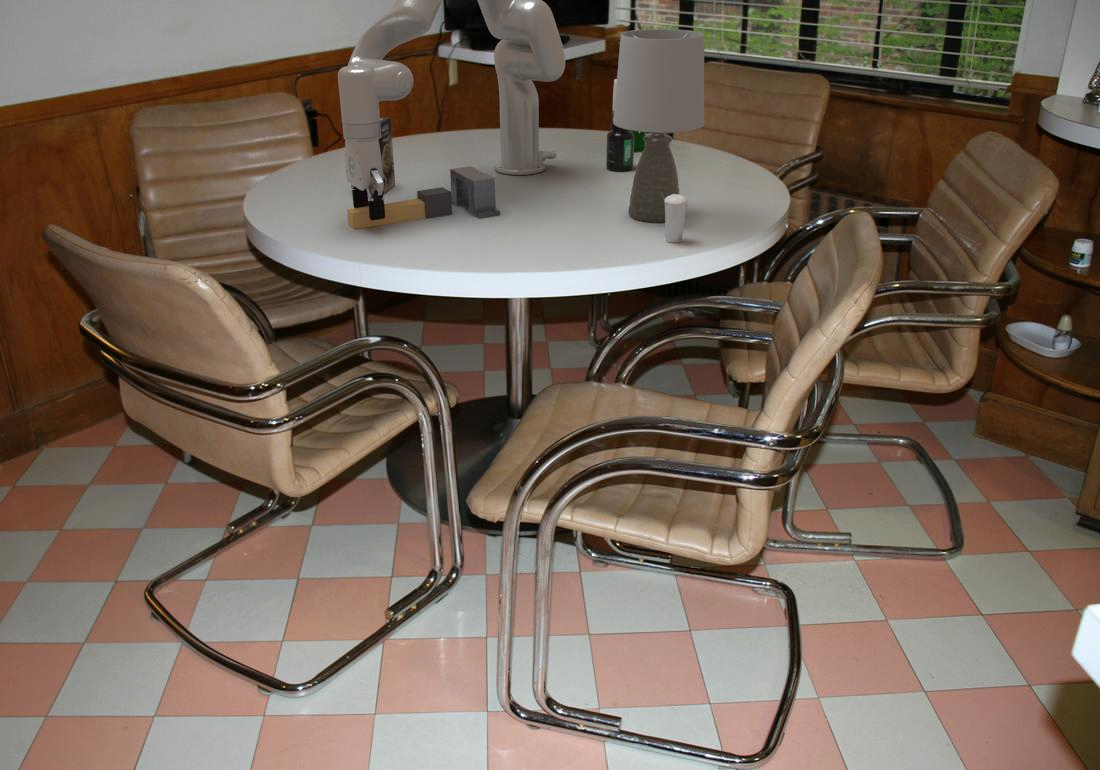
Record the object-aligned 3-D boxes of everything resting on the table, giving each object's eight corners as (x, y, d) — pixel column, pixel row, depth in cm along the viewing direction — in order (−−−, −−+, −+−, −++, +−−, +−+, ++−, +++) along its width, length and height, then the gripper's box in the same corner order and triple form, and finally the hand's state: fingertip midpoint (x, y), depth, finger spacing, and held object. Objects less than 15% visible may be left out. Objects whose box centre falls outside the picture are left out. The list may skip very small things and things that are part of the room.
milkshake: (656, 237, 198) (658, 188, 194) (682, 236, 199) (685, 187, 194) (660, 244, 194) (662, 194, 190) (687, 243, 195) (690, 193, 190)
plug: (443, 209, 217) (442, 187, 215) (452, 214, 214) (451, 191, 211) (347, 224, 207) (345, 201, 205) (354, 230, 204) (352, 206, 202)
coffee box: (383, 195, 227) (377, 124, 220) (356, 194, 228) (350, 123, 221) (396, 185, 235) (391, 116, 228) (371, 184, 236) (365, 115, 229)
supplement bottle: (634, 172, 246) (635, 123, 240) (606, 172, 246) (607, 123, 241) (632, 165, 252) (634, 117, 247) (605, 165, 252) (606, 117, 247)
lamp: (715, 215, 212) (728, 33, 196) (659, 234, 200) (668, 42, 184) (649, 198, 224) (656, 26, 208) (593, 215, 212) (595, 34, 196)
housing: (468, 197, 225) (466, 164, 222) (500, 215, 213) (499, 180, 209) (448, 200, 223) (446, 167, 220) (479, 218, 211) (477, 183, 207)
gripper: (330, 124, 204) (338, 206, 211) (358, 140, 190) (366, 226, 198) (364, 120, 207) (371, 201, 215) (395, 136, 194) (401, 221, 201)
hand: (369, 213), depth 206 cm, fingers open, 9 cm apart
